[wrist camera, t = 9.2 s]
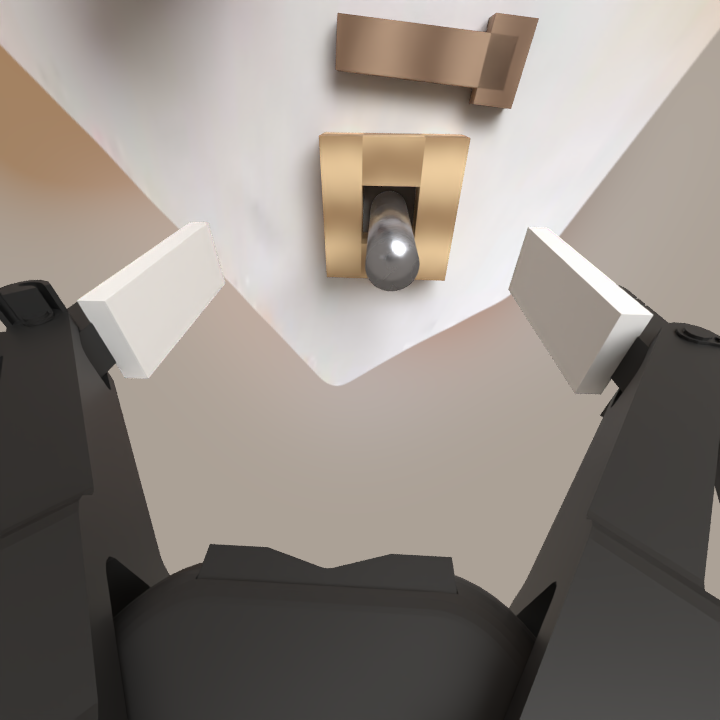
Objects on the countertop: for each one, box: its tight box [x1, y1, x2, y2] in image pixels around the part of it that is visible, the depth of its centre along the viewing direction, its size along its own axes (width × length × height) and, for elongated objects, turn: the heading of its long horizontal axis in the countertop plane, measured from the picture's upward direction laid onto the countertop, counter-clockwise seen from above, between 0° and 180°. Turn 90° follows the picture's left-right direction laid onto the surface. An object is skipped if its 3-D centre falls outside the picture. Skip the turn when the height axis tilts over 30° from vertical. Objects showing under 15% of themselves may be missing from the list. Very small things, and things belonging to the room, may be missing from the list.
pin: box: [365, 191, 420, 291], centre depth 27 cm, size 4×4×14 cm
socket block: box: [319, 132, 470, 281], centre depth 31 cm, size 12×12×4 cm
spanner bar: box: [335, 13, 539, 109], centre depth 25 cm, size 14×5×2 cm, turn 84°
